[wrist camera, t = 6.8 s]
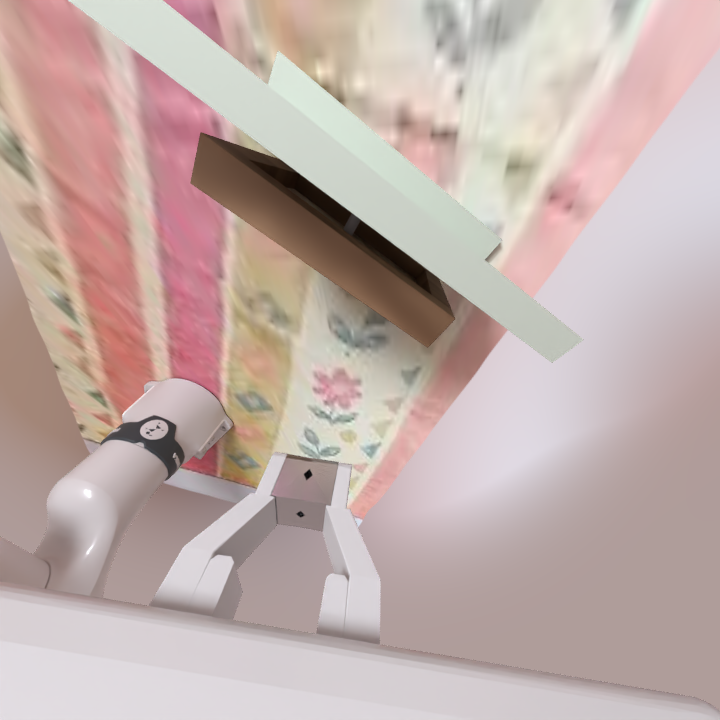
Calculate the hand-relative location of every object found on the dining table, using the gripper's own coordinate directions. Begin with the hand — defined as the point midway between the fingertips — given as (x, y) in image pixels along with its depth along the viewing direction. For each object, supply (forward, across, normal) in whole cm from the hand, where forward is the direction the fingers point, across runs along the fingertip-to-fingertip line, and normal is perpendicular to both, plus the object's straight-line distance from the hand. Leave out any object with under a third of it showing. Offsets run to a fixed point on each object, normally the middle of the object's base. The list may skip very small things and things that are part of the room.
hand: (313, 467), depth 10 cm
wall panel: (+31, 0, -10) cm, 32 cm away
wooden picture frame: (+27, +1, -5) cm, 27 cm away
